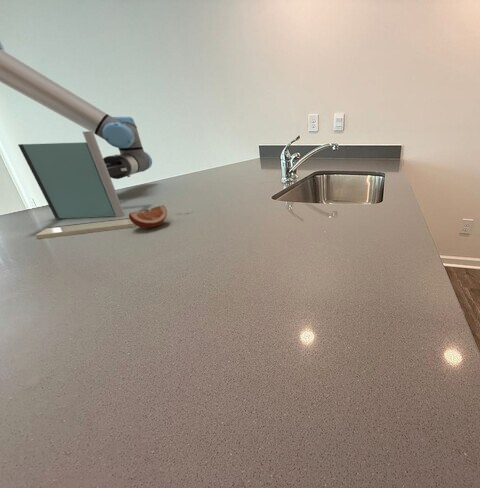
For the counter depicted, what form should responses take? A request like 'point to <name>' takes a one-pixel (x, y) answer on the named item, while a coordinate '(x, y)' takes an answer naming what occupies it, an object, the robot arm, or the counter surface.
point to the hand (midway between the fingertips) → (64, 180)
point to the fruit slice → (149, 217)
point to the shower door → (68, 179)
